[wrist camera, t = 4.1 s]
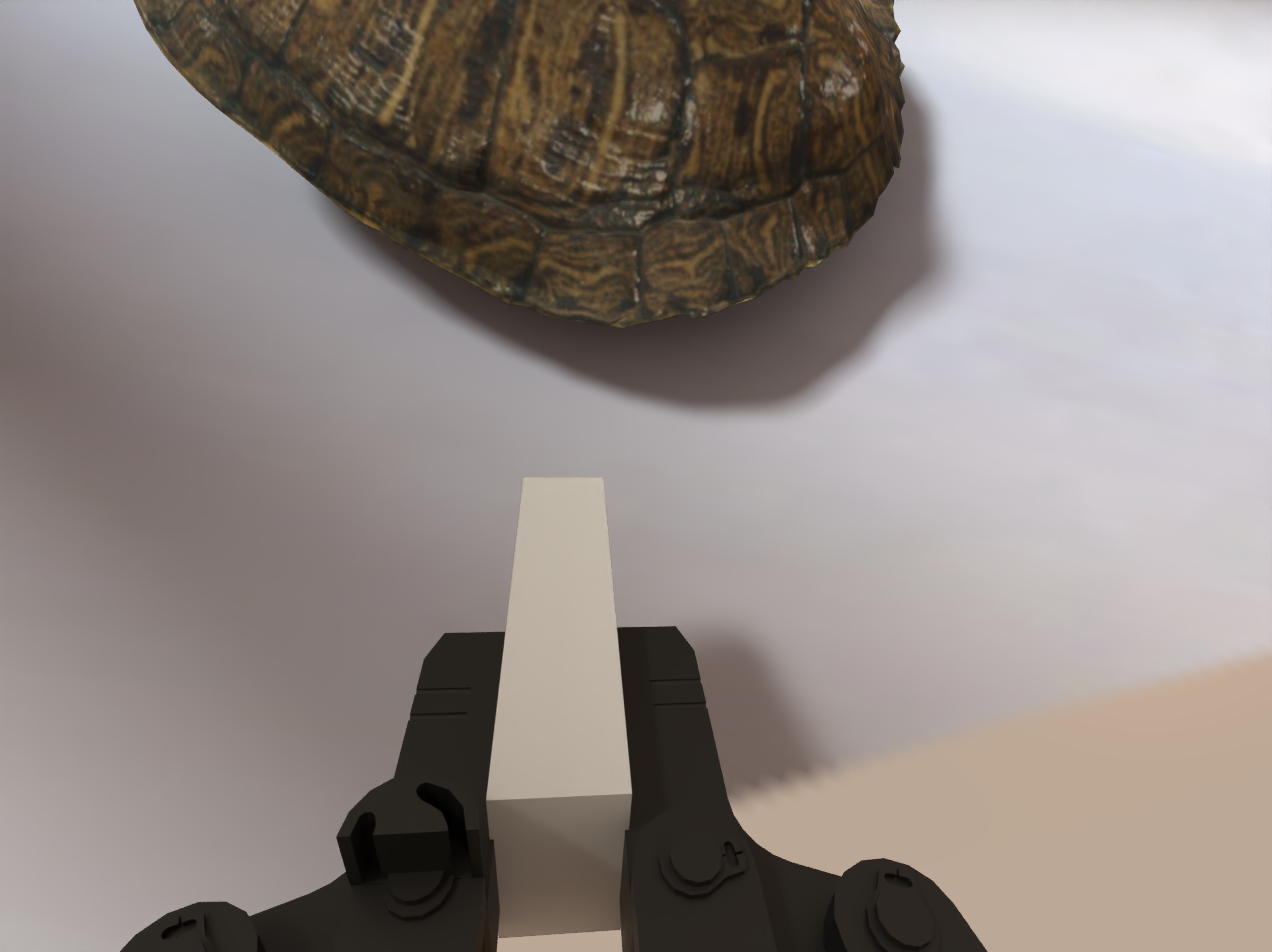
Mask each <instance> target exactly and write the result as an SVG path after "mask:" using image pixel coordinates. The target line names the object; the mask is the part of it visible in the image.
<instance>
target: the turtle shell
mask: <svg viewBox="0 0 1272 952" xmlns="http://www.w3.org/2000/svg"><path fill="white" fill-rule="evenodd" d="M134 3H135V5H136V7H137V9H138V12H139V14H140V16H141V19H142V21H143V23H144V25H145V28H146V29H147V31H148V32H149V34H150V35H151V37H152V38H153V40H154V41H155V43H156V44H157V46H158V47H159V48H160V50H161V51H162V53H163V54H164V55H165V57H166V58H167V59H168V60H169V62H170V63H171V64H172V65H173V66H174V67H175V68H176V69H177V70H178V71H179V72H180V73H181V75H182V76H183V77H184V78H185V79H186V80H187V81H188V82H189V83H190V84H191V85H192V86H193V87H194V88H195V89H196V90H197V91H198V92H199V93H200V94H201V95H203V96H204V97H205V98H206V99H207V100H208V101H209V102H211V103H212V104H213V105H214V106H215V107H216V108H218V109H219V110H220V111H221V112H223V113H224V114H225V115H227V116H228V117H229V118H230V119H232V120H233V121H234V122H236V123H237V124H238V125H240V126H241V127H242V128H244V129H245V130H246V131H248V132H249V133H250V134H252V135H253V136H254V137H255V138H257V139H258V140H259V141H261V142H262V143H263V144H264V145H266V146H267V147H268V148H269V149H271V150H272V151H273V152H275V153H276V154H277V155H278V156H279V157H280V158H282V159H283V160H284V161H285V162H286V163H287V164H289V165H290V166H291V167H292V168H293V169H294V170H296V171H297V172H298V173H299V174H300V175H302V176H303V177H304V178H305V179H306V180H308V181H309V182H310V183H311V184H312V185H314V186H315V187H316V188H317V189H318V190H320V191H321V192H322V193H323V194H325V195H326V196H327V197H328V198H330V199H331V200H332V201H334V202H335V203H336V204H337V205H339V206H340V207H341V208H342V209H344V210H345V211H346V212H348V213H349V214H351V215H352V216H353V217H355V218H356V219H358V220H359V221H361V222H362V223H363V224H366V225H368V226H370V227H372V228H374V229H376V230H378V231H380V232H383V233H384V234H385V235H386V236H388V237H389V238H390V239H391V240H393V241H394V242H395V243H396V244H398V245H400V246H402V247H404V248H406V249H407V250H409V251H411V252H413V253H415V254H417V255H418V256H420V257H422V258H424V259H426V260H428V261H430V262H432V263H433V264H435V265H437V266H439V267H441V268H443V269H445V270H447V271H449V272H451V273H452V274H454V275H456V276H458V277H460V278H462V279H464V280H466V281H468V282H470V283H472V284H474V285H475V286H477V287H479V288H481V289H483V290H484V291H486V292H488V293H490V294H491V295H493V296H495V297H497V298H499V299H500V300H502V301H504V302H506V303H508V304H514V305H522V306H526V307H528V308H530V309H532V310H534V311H537V312H539V313H541V314H543V315H546V316H549V317H553V318H556V319H560V320H567V321H578V322H585V323H592V324H599V325H607V326H615V327H620V328H625V327H629V326H632V325H635V324H639V323H644V322H650V321H656V320H662V319H665V318H668V317H671V316H675V315H678V314H680V315H683V316H687V317H690V318H695V317H701V316H705V315H709V314H712V313H716V312H718V311H720V310H722V309H724V308H726V307H728V306H730V305H733V304H737V303H741V302H745V301H748V300H751V299H753V298H756V297H758V296H759V295H761V294H762V293H763V292H765V291H766V290H768V289H769V288H771V287H773V286H774V285H776V284H778V283H779V282H781V281H782V280H786V279H793V278H797V276H798V275H799V274H800V272H801V271H802V269H803V268H804V267H815V266H816V265H818V264H819V263H820V262H822V261H823V260H824V259H826V258H827V257H828V255H829V254H830V253H831V252H832V251H833V250H836V249H839V248H843V247H846V246H847V245H848V244H849V242H850V240H851V239H852V237H853V236H854V234H855V233H856V232H857V231H858V230H859V229H860V228H861V227H862V226H863V225H864V224H865V223H866V222H867V221H868V220H869V219H870V218H871V217H872V216H873V215H874V211H875V207H876V204H877V200H878V197H879V196H880V195H881V193H882V192H883V191H884V190H885V188H886V187H887V185H888V183H889V181H890V180H891V178H892V176H893V174H894V170H893V166H894V167H897V168H899V166H900V161H901V157H900V152H899V150H900V147H901V143H902V138H903V133H904V130H903V124H902V118H901V109H902V107H903V105H904V103H905V100H904V96H903V91H902V87H901V82H900V78H899V77H900V75H901V73H902V71H903V69H904V67H905V66H904V64H903V63H902V62H901V59H900V53H899V50H898V48H897V47H896V45H895V41H896V39H897V37H898V35H899V33H900V32H901V30H900V29H899V27H898V25H897V23H896V22H895V20H894V11H893V5H894V0H134Z"/></svg>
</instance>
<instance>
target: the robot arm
mask: <svg viewBox="0 0 1272 952" xmlns="http://www.w3.org/2000/svg"><path fill="white" fill-rule="evenodd" d="M336 838H337V842H338V845H339V848H340V852H341V855H342V859H343V862H344V866H345V869H346V872H345V873H344V874H343V875H341V876H340V877H338V878H337V879H336V880H334V881H333V882H332V883H330V884H328V885H326V886H324V887H322V888H320V889H318V890H316V891H314V892H312V893H310V894H307V895H305V896H302V897H299V898H297V899H294V900H291V901H289V902H286V903H284V904H281V905H278V906H276V907H273V908H270V909H268V910H265V911H262V912H260V913H257V914H255V915H252V916H248V914H247V912H246V911H244V910H242V909H240V908H238V907H236V906H234V905H232V904H230V903H228V902H197V903H195V904H192V905H189V906H186V907H184V908H181V909H178V910H175V911H173V912H170V913H167V914H166V915H164V916H163V917H161V918H160V919H158V920H157V921H155V922H154V923H152V924H151V925H149V926H148V927H147V928H145V929H144V930H142V931H141V932H139V933H138V934H136V935H135V936H134V937H133V938H132V939H131V940H130V941H129V942H128V944H127V945H126V946H125V947H124V948H123V949H122V950H121V951H120V952H497V939H498V935H499V938H507V937H521V936H535V935H549V934H564V933H579V932H594V931H608V930H620V928H621V935H622V950H623V952H987V951H986V949H985V948H984V946H983V945H982V943H981V942H980V941H979V939H978V938H977V936H976V935H975V933H974V932H973V931H972V929H971V928H970V926H969V925H968V923H967V922H966V921H965V919H964V918H963V916H962V915H961V913H960V912H959V911H958V909H957V908H956V907H955V905H954V904H953V902H952V901H951V900H950V899H949V898H948V897H947V896H946V895H945V894H944V893H943V892H942V890H941V889H940V888H939V887H938V886H937V885H936V884H935V883H934V882H933V881H932V880H931V879H929V878H928V877H926V876H924V875H923V874H921V873H920V872H918V871H917V870H915V869H914V868H912V867H910V866H909V865H906V864H902V863H899V862H895V861H892V860H888V859H884V858H882V859H872V860H863V861H860V862H859V863H857V864H856V865H854V866H853V867H851V868H850V869H848V870H847V871H845V872H844V873H843V875H842V877H841V876H838V875H834V874H830V873H827V872H823V871H820V870H817V869H813V868H810V867H806V866H803V865H799V864H796V863H792V862H790V861H787V860H785V859H782V858H780V857H777V856H775V855H773V854H771V853H770V852H768V851H767V850H765V849H764V848H762V847H761V846H760V845H758V844H757V843H756V842H755V841H754V840H753V839H752V838H751V837H750V836H749V835H748V834H747V833H746V832H745V831H744V830H743V829H742V827H741V826H740V824H739V822H738V821H737V819H736V818H735V816H734V815H733V812H732V809H731V806H730V803H729V801H728V797H727V793H726V789H725V784H724V780H723V775H722V771H721V767H720V762H719V758H718V753H717V749H716V745H715V740H714V736H713V731H712V727H711V723H710V718H709V714H708V709H707V708H706V701H705V696H704V692H703V687H702V684H701V682H700V674H699V670H698V665H697V661H696V657H695V652H694V650H693V648H692V647H691V646H690V644H689V643H688V642H687V641H686V639H685V638H684V637H683V635H682V634H681V633H680V632H679V630H678V629H677V628H676V626H669V627H620V628H617V624H616V613H615V602H614V592H613V581H612V570H611V559H610V548H609V537H608V526H607V516H606V505H605V494H604V483H603V477H523V485H522V494H521V503H520V511H519V520H518V529H517V537H516V546H515V555H514V563H513V572H512V581H511V589H510V598H509V606H508V615H507V624H506V632H475V633H444V635H443V636H442V637H441V638H440V640H439V641H438V642H437V643H436V645H435V646H434V647H433V648H432V650H431V651H430V652H429V653H428V655H427V656H426V657H425V659H424V662H423V665H422V669H421V673H420V677H419V681H418V685H417V693H416V695H415V697H414V701H413V705H412V709H411V713H410V720H409V721H408V724H407V728H406V732H405V736H404V740H403V744H402V748H401V752H400V756H399V760H398V764H397V768H396V772H395V776H394V778H393V779H391V780H389V781H387V782H385V783H384V784H382V785H380V786H378V787H376V788H374V789H373V790H371V791H370V792H369V793H368V794H367V795H366V796H365V797H364V798H363V799H362V800H361V801H359V802H358V803H357V804H356V805H355V806H354V807H353V808H352V809H351V810H350V811H349V813H348V815H347V817H346V819H345V821H344V823H343V825H342V827H341V829H340V831H339V833H338V835H337V837H336Z"/></svg>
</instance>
